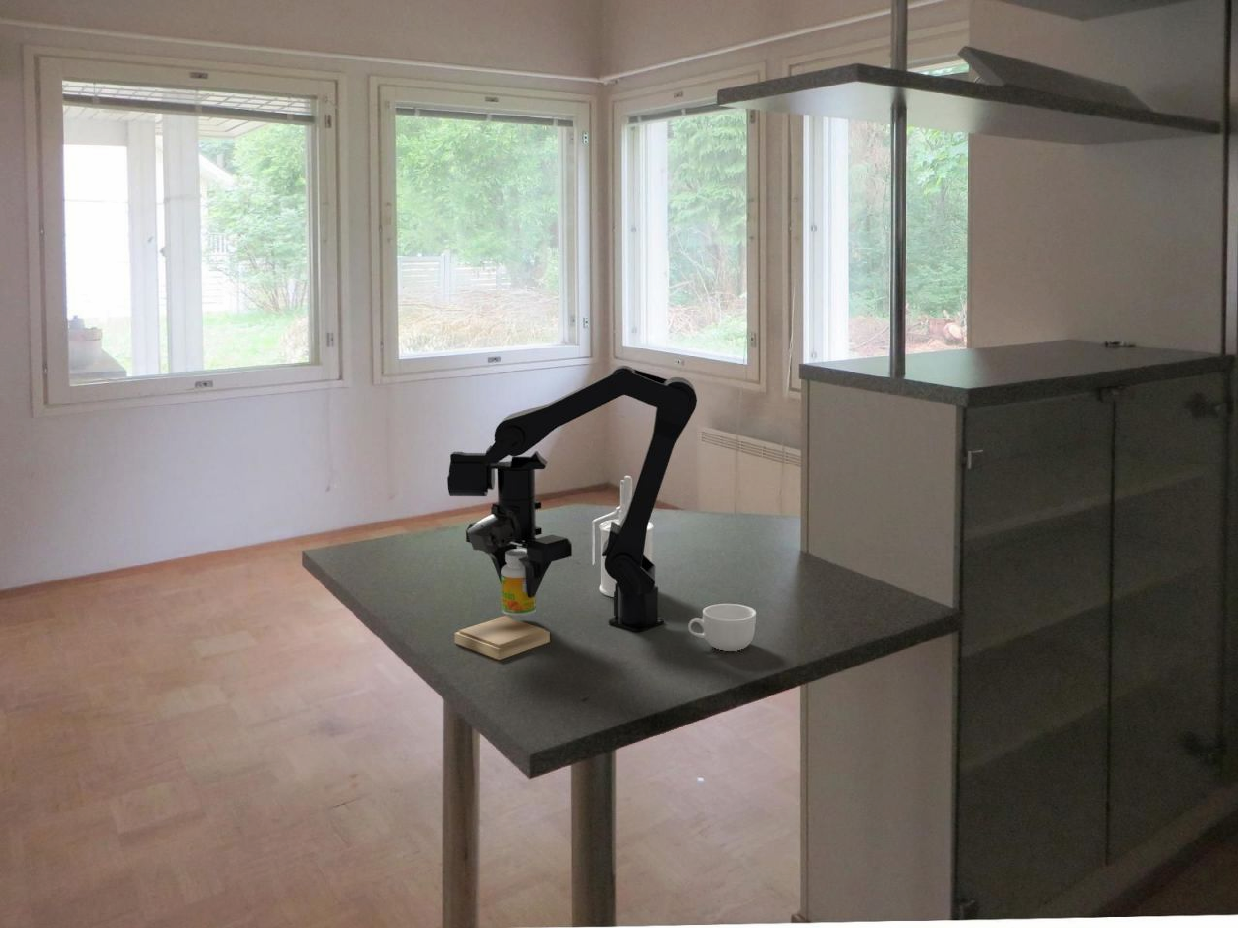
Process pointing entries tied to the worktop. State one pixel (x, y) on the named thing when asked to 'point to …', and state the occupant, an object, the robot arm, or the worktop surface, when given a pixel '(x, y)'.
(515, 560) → the supplement bottle
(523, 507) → the robot arm
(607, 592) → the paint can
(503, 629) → the beige square tray
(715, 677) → the worktop surface
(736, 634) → the teacup
